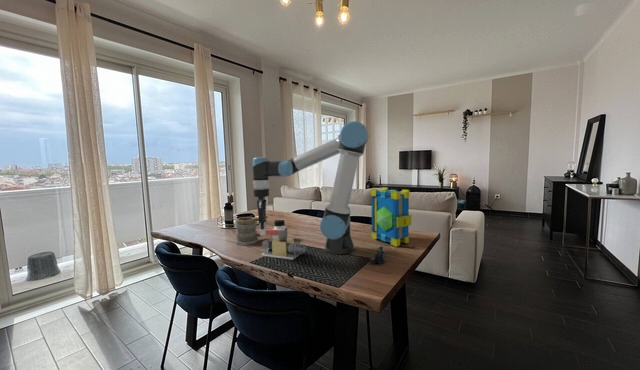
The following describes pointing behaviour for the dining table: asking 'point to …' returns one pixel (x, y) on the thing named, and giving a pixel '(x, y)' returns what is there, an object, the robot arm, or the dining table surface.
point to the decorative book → (390, 215)
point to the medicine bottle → (278, 227)
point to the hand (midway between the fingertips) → (263, 234)
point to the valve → (283, 248)
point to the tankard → (246, 231)
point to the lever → (277, 233)
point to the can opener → (378, 256)
